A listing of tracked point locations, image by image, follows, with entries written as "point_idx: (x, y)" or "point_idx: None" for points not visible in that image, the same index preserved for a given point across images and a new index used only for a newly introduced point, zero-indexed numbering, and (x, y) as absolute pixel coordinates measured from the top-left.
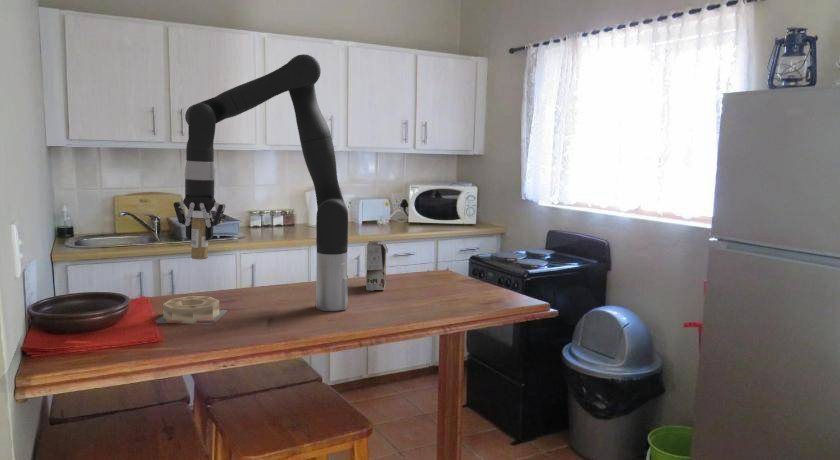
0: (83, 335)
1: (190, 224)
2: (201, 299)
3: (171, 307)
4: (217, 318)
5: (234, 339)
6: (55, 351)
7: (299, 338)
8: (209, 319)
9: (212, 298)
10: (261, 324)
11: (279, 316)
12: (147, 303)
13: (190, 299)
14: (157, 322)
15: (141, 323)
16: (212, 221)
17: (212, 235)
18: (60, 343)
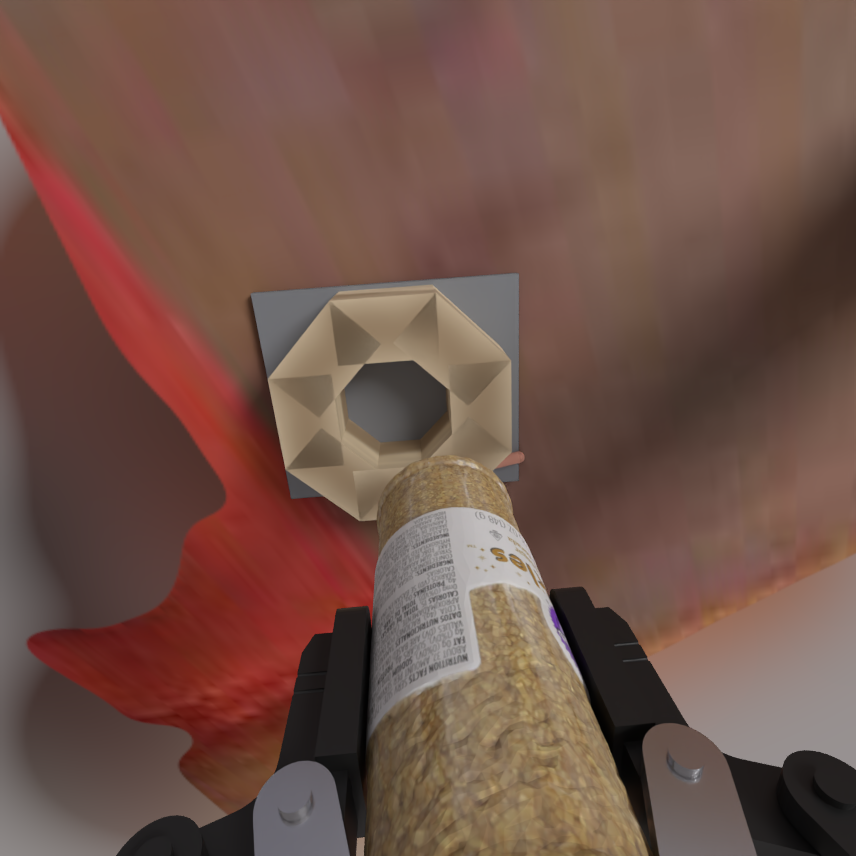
0: (152, 620)
1: (352, 849)
2: (417, 358)
3: (351, 509)
4: (513, 409)
5: (628, 584)
6: (191, 726)
7: (832, 546)
8: (501, 466)
9: (464, 327)
10: (694, 425)
11: (760, 301)
12: (29, 162)
13: (362, 364)
14: (308, 493)
15: (242, 483)
16: (738, 836)
17: (628, 645)
18: (149, 681)
